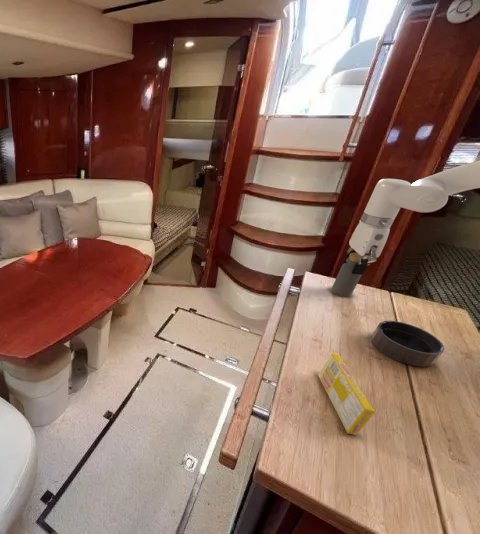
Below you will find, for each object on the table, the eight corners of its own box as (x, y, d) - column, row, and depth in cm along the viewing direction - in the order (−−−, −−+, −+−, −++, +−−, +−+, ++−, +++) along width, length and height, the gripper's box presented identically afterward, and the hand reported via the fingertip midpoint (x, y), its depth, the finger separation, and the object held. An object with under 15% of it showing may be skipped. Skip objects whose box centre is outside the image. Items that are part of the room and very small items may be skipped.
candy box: (358, 436, 64) (376, 411, 60) (346, 433, 65) (363, 409, 61) (326, 376, 78) (339, 353, 74) (316, 374, 78) (329, 351, 74)
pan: (414, 338, 89) (423, 325, 86) (446, 372, 78) (457, 358, 76) (361, 330, 92) (369, 317, 90) (385, 362, 81) (394, 348, 79)
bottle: (333, 286, 113) (350, 250, 105) (353, 292, 109) (372, 255, 102) (328, 292, 110) (345, 255, 102) (348, 299, 106) (368, 261, 98)
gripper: (408, 231, 87) (378, 283, 96) (376, 211, 102) (353, 258, 111) (376, 229, 89) (350, 280, 98) (350, 209, 104) (329, 256, 113)
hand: (352, 268), depth 104 cm, fingers closed on bottle, 5 cm apart
